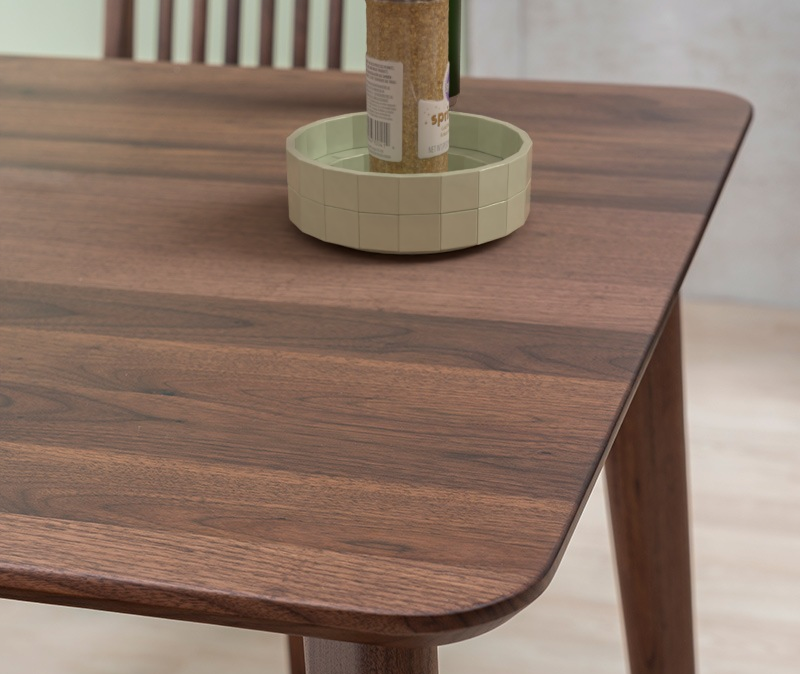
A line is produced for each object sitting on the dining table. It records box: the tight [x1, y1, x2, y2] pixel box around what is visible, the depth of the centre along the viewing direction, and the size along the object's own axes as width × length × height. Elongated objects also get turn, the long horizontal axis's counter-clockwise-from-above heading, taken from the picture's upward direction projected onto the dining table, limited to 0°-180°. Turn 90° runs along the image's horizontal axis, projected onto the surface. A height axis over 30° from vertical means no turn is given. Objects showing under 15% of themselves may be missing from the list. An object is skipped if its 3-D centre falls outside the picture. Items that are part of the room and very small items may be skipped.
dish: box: [285, 110, 534, 255], centre depth 68 cm, size 13×13×4 cm
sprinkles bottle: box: [364, 0, 450, 174], centre depth 65 cm, size 5×5×14 cm
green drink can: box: [448, 0, 462, 107], centre depth 90 cm, size 5×5×12 cm
